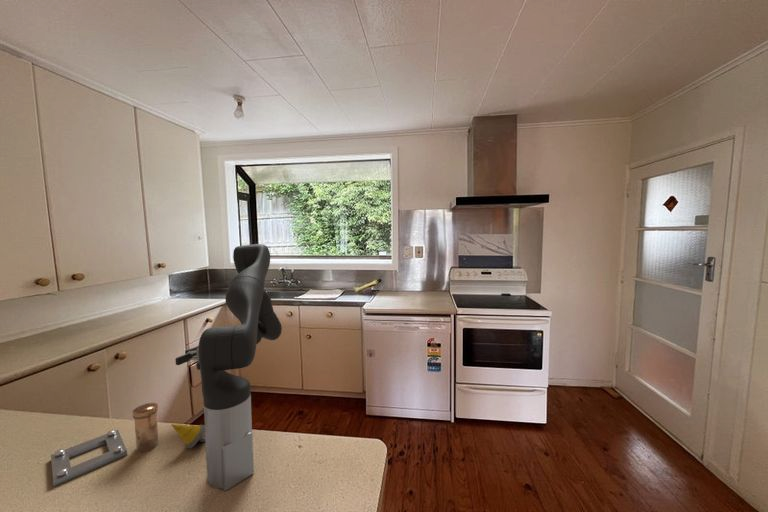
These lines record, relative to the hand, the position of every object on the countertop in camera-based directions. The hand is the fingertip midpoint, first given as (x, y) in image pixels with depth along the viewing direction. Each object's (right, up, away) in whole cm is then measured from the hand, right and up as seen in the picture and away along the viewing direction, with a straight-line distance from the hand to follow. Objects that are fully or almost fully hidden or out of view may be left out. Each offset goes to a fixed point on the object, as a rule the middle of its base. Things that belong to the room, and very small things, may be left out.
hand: (186, 364), depth 84 cm
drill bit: (+8, -18, -10) cm, 22 cm away
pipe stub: (-4, -17, -9) cm, 20 cm away
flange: (-15, -18, -13) cm, 26 cm away
